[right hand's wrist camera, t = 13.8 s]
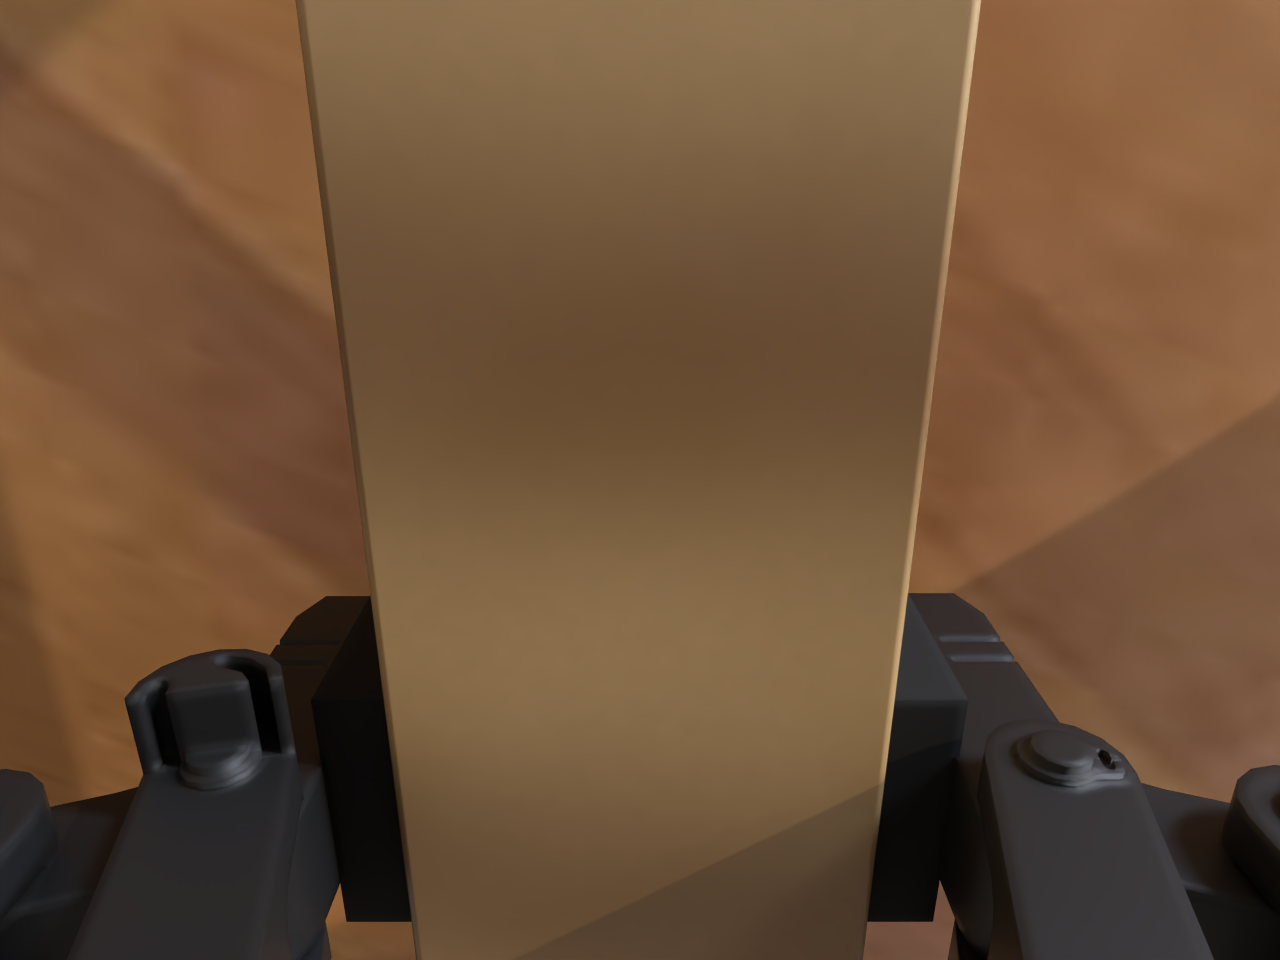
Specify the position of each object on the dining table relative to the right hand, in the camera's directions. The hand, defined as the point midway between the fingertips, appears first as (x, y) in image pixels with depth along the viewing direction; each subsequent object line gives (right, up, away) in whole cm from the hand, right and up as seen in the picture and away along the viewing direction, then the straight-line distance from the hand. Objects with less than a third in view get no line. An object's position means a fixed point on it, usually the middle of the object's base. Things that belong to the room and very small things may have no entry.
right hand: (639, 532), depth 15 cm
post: (0, +26, -10) cm, 28 cm away
